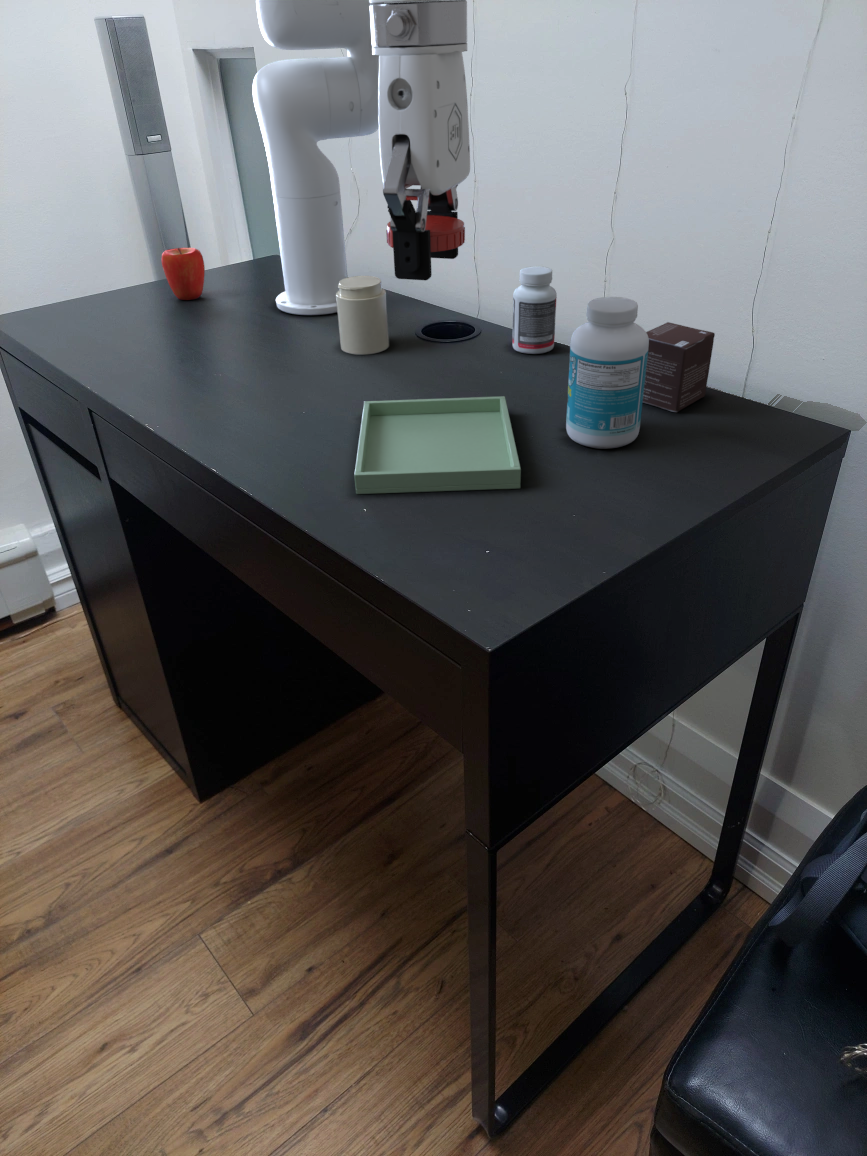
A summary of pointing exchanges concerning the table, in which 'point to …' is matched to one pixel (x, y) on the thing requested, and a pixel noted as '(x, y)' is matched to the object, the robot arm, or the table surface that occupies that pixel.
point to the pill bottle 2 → (607, 375)
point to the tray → (436, 446)
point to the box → (677, 366)
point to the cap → (440, 233)
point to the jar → (362, 315)
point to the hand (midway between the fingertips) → (427, 266)
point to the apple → (184, 272)
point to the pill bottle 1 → (534, 311)
